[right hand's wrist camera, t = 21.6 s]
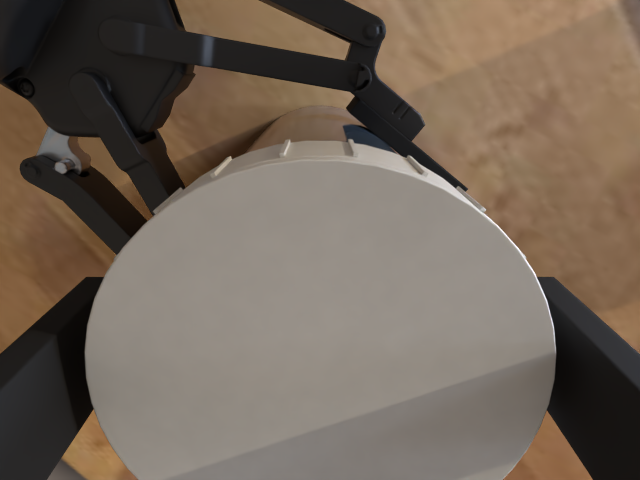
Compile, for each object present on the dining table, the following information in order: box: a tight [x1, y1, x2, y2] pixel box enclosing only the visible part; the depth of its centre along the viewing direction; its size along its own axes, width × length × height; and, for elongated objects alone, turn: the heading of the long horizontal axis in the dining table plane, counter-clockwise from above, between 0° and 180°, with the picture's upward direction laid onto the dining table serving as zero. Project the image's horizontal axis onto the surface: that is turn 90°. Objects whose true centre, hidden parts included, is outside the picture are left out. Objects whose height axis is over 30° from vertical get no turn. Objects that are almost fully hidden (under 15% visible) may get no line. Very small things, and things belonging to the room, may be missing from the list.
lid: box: [85, 139, 556, 480], centre depth 11 cm, size 11×11×2 cm
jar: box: [244, 106, 397, 154], centre depth 20 cm, size 10×10×19 cm
